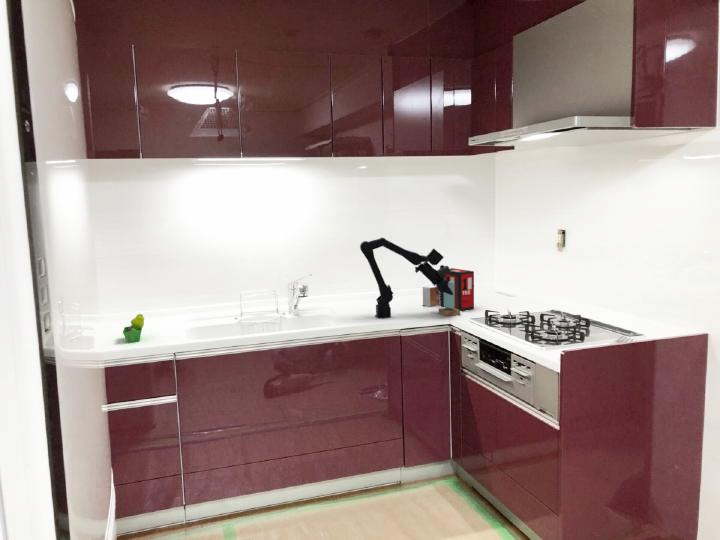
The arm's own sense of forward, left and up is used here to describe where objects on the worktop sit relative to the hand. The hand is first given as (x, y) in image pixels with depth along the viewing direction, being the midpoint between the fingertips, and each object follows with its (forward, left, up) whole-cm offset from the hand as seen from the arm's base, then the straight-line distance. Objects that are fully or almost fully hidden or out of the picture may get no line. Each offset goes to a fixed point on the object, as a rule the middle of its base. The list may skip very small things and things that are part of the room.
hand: (451, 293), depth 293 cm
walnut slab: (-1, 0, -11) cm, 11 cm away
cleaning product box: (+10, +13, -11) cm, 20 cm away
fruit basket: (-149, +12, -11) cm, 150 cm away
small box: (+1, +25, -11) cm, 28 cm away
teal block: (-1, 0, -7) cm, 7 cm away
